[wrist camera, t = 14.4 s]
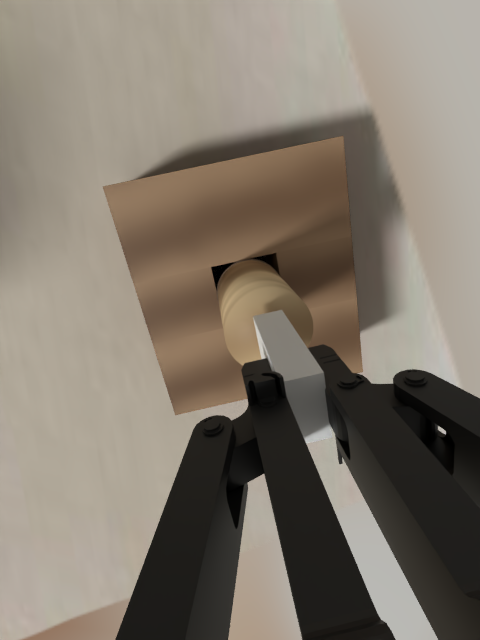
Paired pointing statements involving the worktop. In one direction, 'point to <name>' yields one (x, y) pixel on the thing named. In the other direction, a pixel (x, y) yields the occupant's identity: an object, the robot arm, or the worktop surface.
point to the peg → (256, 306)
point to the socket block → (237, 257)
